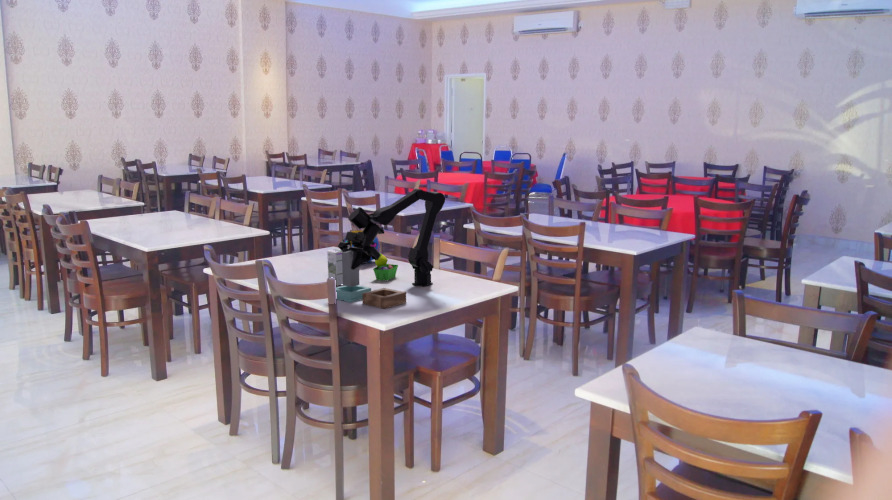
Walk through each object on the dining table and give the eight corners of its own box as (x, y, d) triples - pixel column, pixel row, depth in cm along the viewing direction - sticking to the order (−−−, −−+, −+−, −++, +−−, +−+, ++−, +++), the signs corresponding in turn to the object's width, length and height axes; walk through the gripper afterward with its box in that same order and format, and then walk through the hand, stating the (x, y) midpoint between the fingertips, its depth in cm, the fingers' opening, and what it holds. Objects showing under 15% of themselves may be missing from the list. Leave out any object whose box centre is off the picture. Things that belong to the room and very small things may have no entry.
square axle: (342, 285, 266) (341, 252, 264) (351, 283, 270) (350, 250, 267) (350, 286, 263) (349, 253, 261) (359, 284, 267) (358, 251, 264)
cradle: (327, 297, 266) (327, 289, 266) (352, 291, 276) (351, 283, 276) (350, 302, 258) (350, 294, 258) (375, 296, 268) (374, 287, 268)
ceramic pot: (341, 259, 340) (340, 229, 338) (377, 258, 344) (376, 228, 342) (345, 266, 324) (344, 235, 321) (382, 264, 328) (382, 233, 325)
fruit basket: (388, 281, 293) (388, 255, 291) (369, 280, 296) (369, 254, 294) (399, 276, 304) (398, 251, 302) (380, 274, 306) (380, 249, 304)
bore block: (362, 303, 257) (362, 293, 256) (384, 297, 265) (384, 287, 265) (384, 308, 250) (384, 298, 249) (406, 302, 258) (406, 292, 258)
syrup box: (347, 284, 288) (346, 250, 286) (336, 286, 284) (335, 252, 281) (339, 282, 292) (338, 248, 290) (327, 284, 288) (326, 250, 285)
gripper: (340, 221, 271) (320, 253, 265) (374, 225, 259) (353, 258, 253) (355, 238, 278) (336, 269, 272) (388, 243, 267) (369, 276, 260)
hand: (348, 268), depth 264 cm, fingers closed on square axle, 4 cm apart
